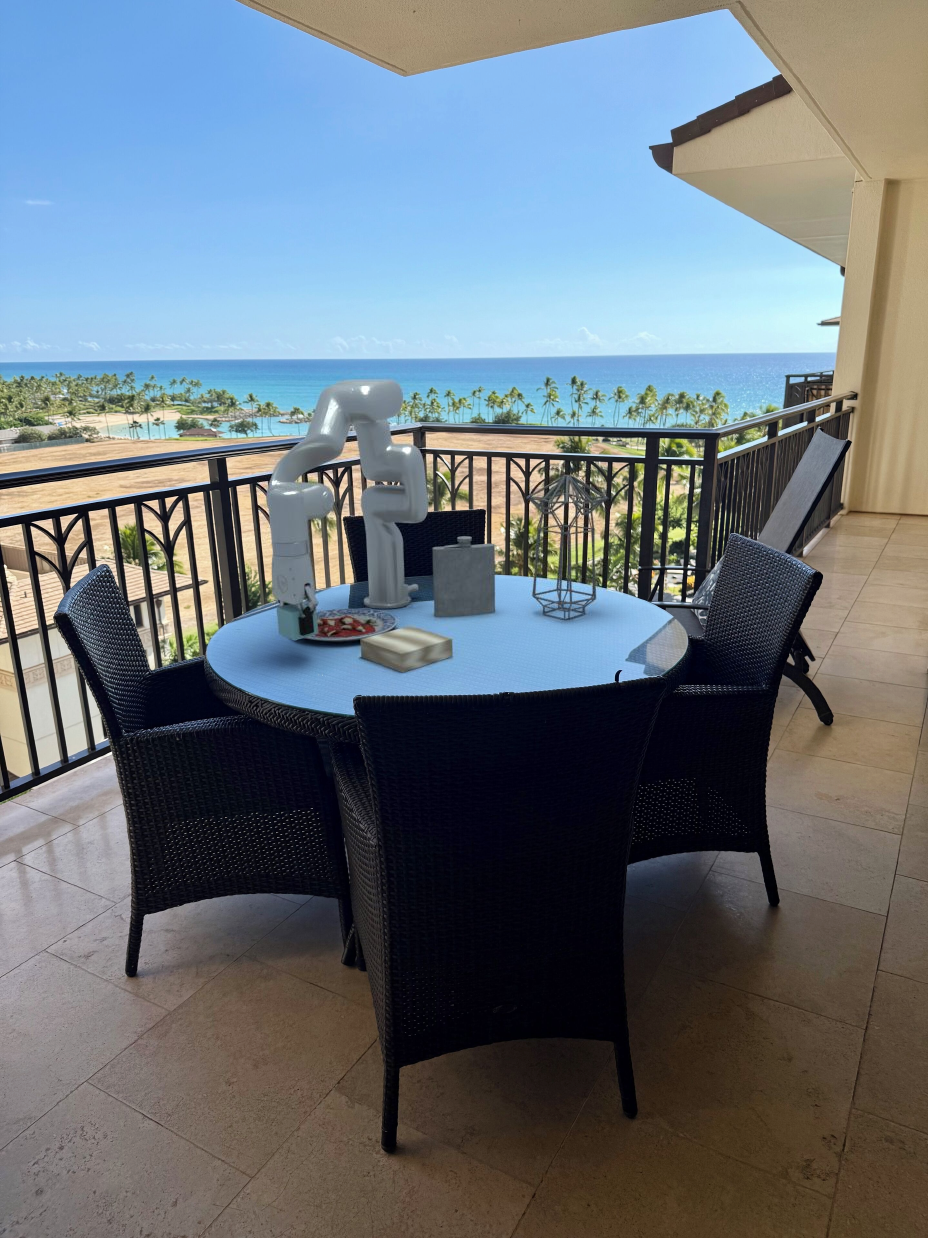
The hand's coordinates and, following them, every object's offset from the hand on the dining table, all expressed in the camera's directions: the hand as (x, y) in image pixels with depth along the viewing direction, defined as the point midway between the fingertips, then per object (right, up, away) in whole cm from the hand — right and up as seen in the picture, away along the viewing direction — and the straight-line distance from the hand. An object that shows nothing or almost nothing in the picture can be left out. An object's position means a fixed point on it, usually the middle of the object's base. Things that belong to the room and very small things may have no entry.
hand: (298, 629), depth 174 cm
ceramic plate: (+7, -1, +21) cm, 22 cm away
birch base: (+23, -6, +1) cm, 24 cm away
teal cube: (0, -1, 0) cm, 1 cm away
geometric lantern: (+61, +4, +32) cm, 70 cm away
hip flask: (+36, +3, +33) cm, 49 cm away
